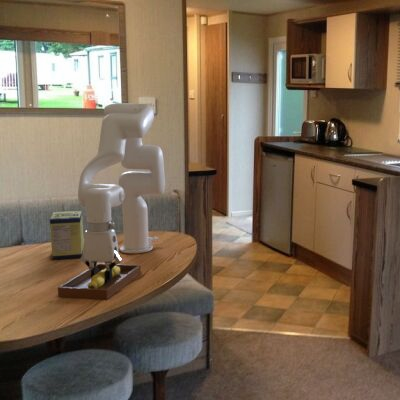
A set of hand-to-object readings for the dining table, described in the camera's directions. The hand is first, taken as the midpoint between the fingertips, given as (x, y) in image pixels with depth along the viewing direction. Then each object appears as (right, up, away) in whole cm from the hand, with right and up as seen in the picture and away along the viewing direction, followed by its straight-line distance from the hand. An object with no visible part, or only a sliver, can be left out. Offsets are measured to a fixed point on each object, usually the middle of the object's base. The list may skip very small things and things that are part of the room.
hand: (101, 280), depth 183 cm
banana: (0, 0, 0) cm, 1 cm away
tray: (0, -1, 0) cm, 1 cm away
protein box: (-26, +5, +34) cm, 43 cm away
